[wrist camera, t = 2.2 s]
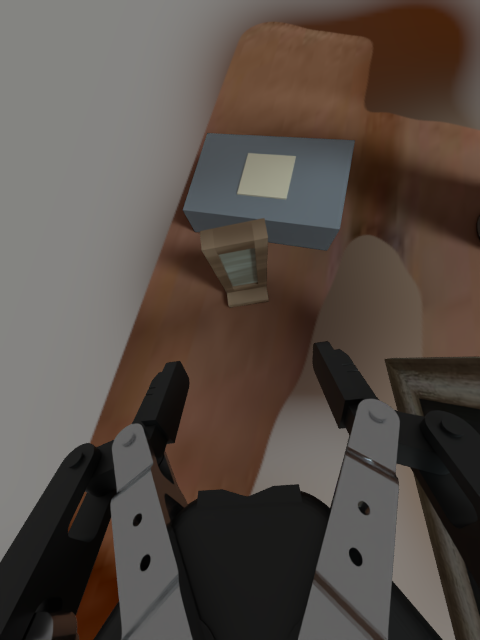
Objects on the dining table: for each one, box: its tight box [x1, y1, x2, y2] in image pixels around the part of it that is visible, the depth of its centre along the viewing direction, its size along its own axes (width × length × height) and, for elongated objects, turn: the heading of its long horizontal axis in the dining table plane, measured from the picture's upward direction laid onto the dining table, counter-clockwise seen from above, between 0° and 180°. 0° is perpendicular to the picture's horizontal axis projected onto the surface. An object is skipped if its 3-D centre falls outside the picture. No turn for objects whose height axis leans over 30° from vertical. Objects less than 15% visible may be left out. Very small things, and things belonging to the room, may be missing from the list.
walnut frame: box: [200, 218, 268, 308], centre depth 23 cm, size 6×6×13 cm
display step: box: [183, 133, 355, 250], centre depth 29 cm, size 22×14×5 cm, turn 77°
